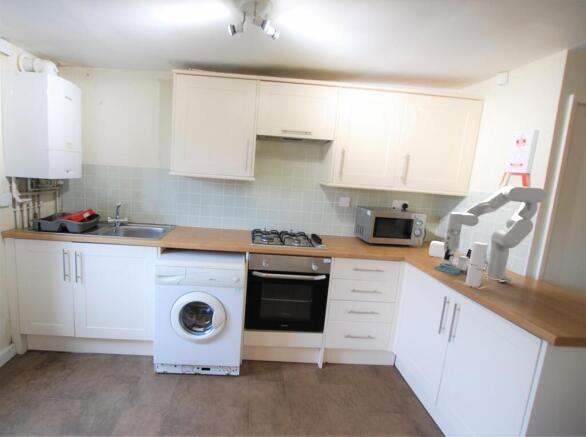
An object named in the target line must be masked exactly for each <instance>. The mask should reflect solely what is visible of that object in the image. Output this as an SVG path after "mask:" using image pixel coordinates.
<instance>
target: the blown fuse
mask: <svg viewBox="0 0 586 437" xmlns="http://www.w3.org/2000/svg"><path fill="white" fill-rule="evenodd" d="M447 249H449V248H447ZM448 251H449V250H448ZM454 252H456V250H451V251H450V259H449V261H448V260H445V259H443V260H442V263H445V264H448V265H450V264H452V265H453V260H454V257H453V256H455V253H454Z"/></svg>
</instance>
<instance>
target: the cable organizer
mask: <svg viewBox="0 0 586 437" xmlns="http://www.w3.org/2000/svg"><path fill="white" fill-rule="evenodd" d="M444 243H445V241H444V242H443V241H437V240H432V241H431V242H430V244H429V249H428V256H429V255H430V257H431V256H434V257H433V258H438V257H439V258H438V259H442V258H444V256H445V251H444Z"/></svg>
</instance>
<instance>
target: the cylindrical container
mask: <svg viewBox="0 0 586 437" xmlns="http://www.w3.org/2000/svg"><path fill="white" fill-rule="evenodd" d="M488 246H489V244H488V243H487V242H481V241H473V242H472V246H471V250H470V251H471V252H470V256H469V262H468V267H467V269H468V272H467V274H466V279H465V283H467V284H470V285H474V286H477V287H481V283H482V277H483V272H484V268H485V267H484V266H485V262H486V256H487V252H488Z"/></svg>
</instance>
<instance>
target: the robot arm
mask: <svg viewBox="0 0 586 437" xmlns="http://www.w3.org/2000/svg"><path fill="white" fill-rule="evenodd" d="M547 196H548V195H547V191H546V190H544V188H540V187H524V186H523V187H522V186H513V185H510V186H509V185H508V186H504V187H502V188H501V189H499V190H498V191H496V192H495V193H494V194H492V195H491V196H489V197H488V198H486V199H485V200H483V201H481V202H479V203H477V204H475V205H473V206H471V207H470V208H468V209H466V210H465V211H463V212H457V211H452V212H450V214H449V218H448V224H447V231H446V236H445V239H444V251H445V256H444V259H445V260H448V261H449V259H450V251H451V250H455V252H456V250H459V247H460V239H461V231H462V226H463V225H464V226H467V227H476V226H477V225H478V224H479V222H480V221H479V217H481V216H482V215H485V214H490V213H493V212H496V211H497V210H499V209H501V208H502V207H504V206H505V205H507V204H508V203H510V202H517V203H520V205H519V208H518V209H517V210H516V211H515V212H514V213H513V214H512V215H511V216H510V217H509V218H508V219H507V221H506V222H505V226H506V228H507V229H501V228H500V229H496V230H494V231H493V232H492V235H491V238H490V240H491V241H490V251H489V256H488V261H487V265H486V271H485V274H486V276H488V277H490V278H494V279H500V280H506V282H512V281H513V280H512V278H511V277H509V276H507V274H506V269H507V265H508V259H509V255H510V249H515V248H516V247H517V246H519V245H520V243H521V242H522V241H524V239H526V238H527V237H528V236H529V235H530V233H531V232H532V231H533V228H534V223H533V221H532V219H533V218H534V216H536V214H537V211H538V209H539V208H538V207H539V206H538V204H540V203H542V202H544V201H545V200H546V199H547ZM447 248H449V249H447ZM448 250H449V251H448ZM455 252H454V254H455ZM454 256H455V255H454ZM454 256H453V258H454ZM444 259H443V260H444Z"/></svg>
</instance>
